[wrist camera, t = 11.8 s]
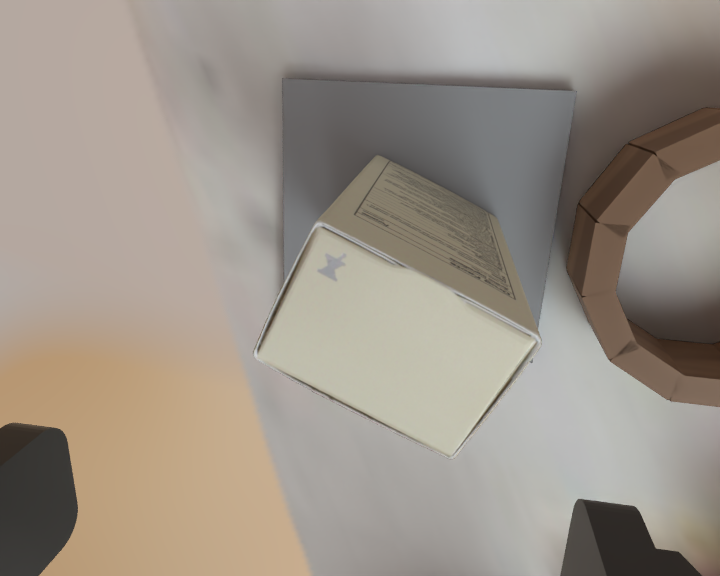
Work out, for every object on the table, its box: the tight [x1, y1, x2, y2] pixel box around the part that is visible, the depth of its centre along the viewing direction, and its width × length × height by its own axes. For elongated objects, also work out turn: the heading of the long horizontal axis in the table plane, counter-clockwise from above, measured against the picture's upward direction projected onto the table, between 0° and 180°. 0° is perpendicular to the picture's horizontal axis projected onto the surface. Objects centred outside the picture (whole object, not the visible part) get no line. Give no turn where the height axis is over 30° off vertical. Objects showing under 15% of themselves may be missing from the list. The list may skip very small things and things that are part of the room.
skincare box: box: [253, 155, 542, 459], centre depth 19 cm, size 6×4×12 cm
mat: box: [282, 78, 577, 363], centre depth 25 cm, size 12×12×1 cm
